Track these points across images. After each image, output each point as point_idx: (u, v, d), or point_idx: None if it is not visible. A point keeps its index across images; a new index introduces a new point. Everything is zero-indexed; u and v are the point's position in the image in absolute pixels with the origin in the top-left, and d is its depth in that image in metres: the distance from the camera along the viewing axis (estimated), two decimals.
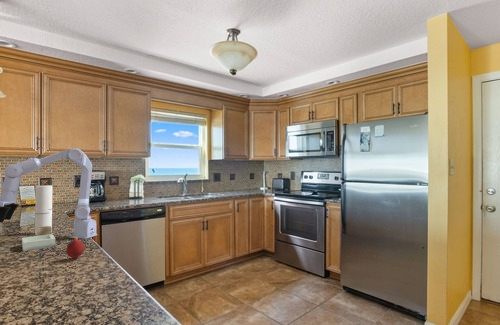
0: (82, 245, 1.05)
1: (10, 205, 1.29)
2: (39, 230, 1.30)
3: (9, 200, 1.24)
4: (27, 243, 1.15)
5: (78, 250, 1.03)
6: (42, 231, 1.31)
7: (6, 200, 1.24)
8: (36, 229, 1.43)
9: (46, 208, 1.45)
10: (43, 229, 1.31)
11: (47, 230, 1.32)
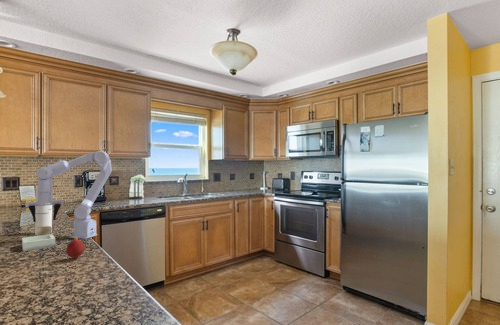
0: (82, 245, 1.05)
1: (54, 206, 1.36)
2: (39, 230, 1.30)
3: (38, 201, 1.31)
4: (27, 243, 1.15)
5: (78, 250, 1.03)
6: (42, 231, 1.31)
7: (37, 201, 1.31)
8: (36, 229, 1.43)
9: (46, 208, 1.45)
10: (43, 229, 1.31)
11: (47, 230, 1.32)
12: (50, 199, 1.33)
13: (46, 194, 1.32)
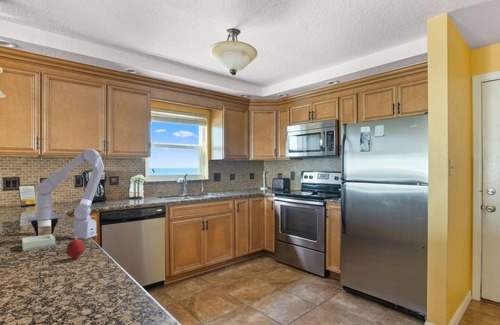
0: (82, 245, 1.05)
1: (51, 221, 1.35)
2: (39, 230, 1.30)
3: (38, 216, 1.31)
4: (27, 243, 1.15)
5: (78, 250, 1.03)
6: (42, 231, 1.31)
7: (37, 216, 1.31)
8: None
9: None
10: (43, 229, 1.31)
11: (47, 230, 1.32)
12: (50, 214, 1.33)
13: (46, 209, 1.32)
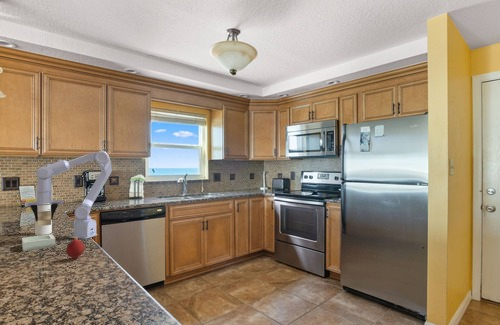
0: (82, 245, 1.05)
1: (51, 206, 1.34)
2: (39, 214, 1.29)
3: (37, 200, 1.30)
4: (27, 243, 1.15)
5: (78, 250, 1.03)
6: (42, 215, 1.30)
7: None
8: (36, 229, 1.43)
9: (46, 208, 1.45)
10: (43, 213, 1.30)
11: (46, 215, 1.31)
12: (50, 199, 1.32)
13: (45, 194, 1.31)
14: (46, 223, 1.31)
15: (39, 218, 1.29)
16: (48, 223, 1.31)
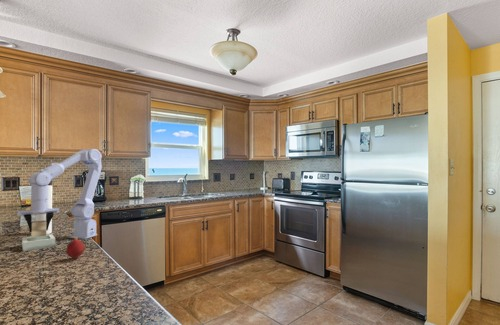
0: (82, 245, 1.05)
1: (46, 215, 1.24)
2: (33, 224, 1.19)
3: (31, 209, 1.20)
4: (27, 243, 1.15)
5: (78, 250, 1.03)
6: (36, 226, 1.20)
7: None
8: None
9: None
10: (37, 223, 1.20)
11: (41, 225, 1.21)
12: (45, 207, 1.22)
13: (40, 202, 1.21)
14: (41, 234, 1.21)
15: (33, 228, 1.19)
16: (43, 234, 1.22)
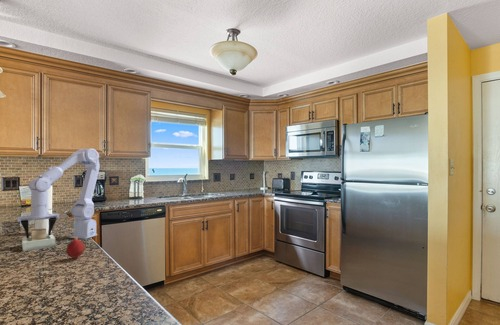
0: (82, 245, 1.05)
1: (49, 220, 1.25)
2: (33, 233, 1.19)
3: (31, 215, 1.20)
4: (27, 243, 1.15)
5: (78, 250, 1.03)
6: (36, 234, 1.20)
7: (30, 215, 1.20)
8: None
9: None
10: (37, 232, 1.20)
11: (41, 233, 1.21)
12: (45, 213, 1.22)
13: (40, 207, 1.21)
14: None
15: (33, 237, 1.19)
16: None
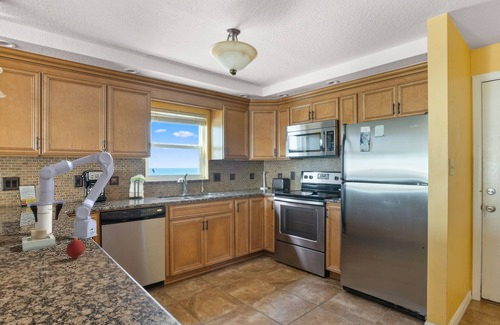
0: (82, 245, 1.05)
1: (56, 206, 1.34)
2: (33, 233, 1.19)
3: (40, 201, 1.29)
4: (27, 243, 1.15)
5: (78, 250, 1.03)
6: (36, 234, 1.20)
7: (39, 201, 1.30)
8: None
9: (46, 208, 1.45)
10: (37, 232, 1.20)
11: (41, 233, 1.21)
12: (52, 199, 1.32)
13: (48, 194, 1.30)
14: None
15: (33, 237, 1.19)
16: None
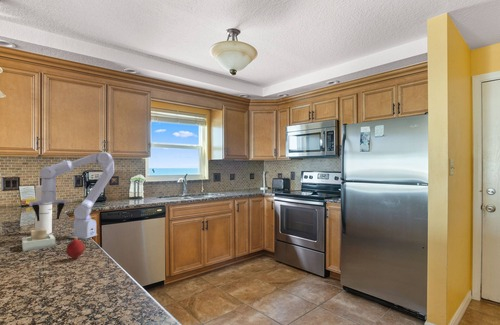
0: (82, 245, 1.05)
1: (57, 205, 1.37)
2: (33, 233, 1.19)
3: (42, 200, 1.32)
4: (27, 243, 1.15)
5: (78, 250, 1.03)
6: (36, 234, 1.20)
7: (41, 200, 1.32)
8: None
9: (46, 208, 1.45)
10: (37, 232, 1.20)
11: (41, 233, 1.21)
12: (54, 198, 1.34)
13: (50, 193, 1.33)
14: None
15: (33, 237, 1.19)
16: None
